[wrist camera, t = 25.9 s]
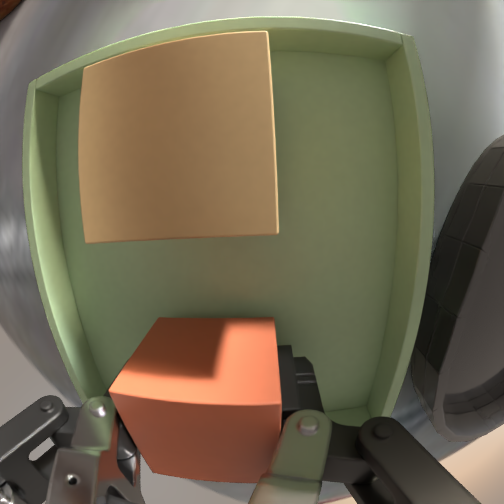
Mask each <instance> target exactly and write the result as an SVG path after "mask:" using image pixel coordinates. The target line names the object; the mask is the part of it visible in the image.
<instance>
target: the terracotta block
mask: <svg viewBox="0 0 504 504" xmlns="http://www.w3.org/2000/svg"><path fill="white" fill-rule="evenodd" d="M109 393H110V396H111V398H112V400H113V402H114V404H115V406H116V408H117V410H118V413H119V415H120V417H121V419H122V421H123V422H124V424H125V426H126V428H127V430H128V432H129V434H130V436H131V437H132V439H133V441H134V443H135V445H136V446H137V448H138V450H139V451H140V453H141V455H142V456H143V458H144V460H145V461H146V463H147V464H148V466H149V467H150V469H151V470H152V472H153V473H158V474H163V475H168V476H174V477H180V478H187V479H195V480H204V481H215V482H230V483H258V481H259V479H260V477H261V475H262V474H263V473H266V471H267V469H268V467H269V465H270V462H271V459H272V457H273V454H274V452H275V449H276V446H277V444H278V441H279V438H280V435H281V413H282V399H281V387H280V375H279V363H278V351H277V340H276V329H275V319H274V317H256V318H167V317H159V318H158V319H157V320H156V321H155V323H154V324H153V326H152V327H151V328H150V330H149V331H148V333H147V334H146V336H145V337H144V338H143V340H142V341H141V343H140V344H139V346H138V347H137V348H136V350H135V351H134V353H133V354H132V356H131V357H130V359H129V360H128V362H127V363H126V364H125V366H124V367H123V369H122V370H121V372H120V373H119V375H118V376H117V378H116V379H115V381H114V382H113V384H112V385H111V387H110V388H109Z"/></svg>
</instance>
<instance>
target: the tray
mask: <svg viewBox="0 0 504 504" xmlns="http://www.w3.org/2000/svg"><path fill="white" fill-rule="evenodd" d="M248 31H267V32H268V35H269V47H270V60H271V74H272V88H273V104H274V121H275V140H276V161H277V185H278V216H279V233H278V235H269V236H240V237H215V238H191V239H170V240H150V241H131V242H114V243H97V244H86V243H85V239H84V232H83V224H82V215H81V204H80V192H79V173H78V125H79V107H80V95H81V85H82V77H83V69H84V68H85V67H87V66H90V65H93V64H95V63H98V62H101V61H103V60H106V59H109V58H112V57H115V56H118V55H121V54H124V53H128V52H131V51H134V50H138V49H142V48H145V47H149V46H153V45H157V44H162V43H166V42H171V41H176V40H181V39H187V38H192V37H199V36H206V35H214V34H222V33H233V32H248ZM22 178H23V197H24V209H25V219H26V227H27V234H28V241H29V247H30V252H31V258H32V263H33V267H34V272H35V276H36V281H37V285H38V289H39V293H40V296H41V300H42V303H43V307H44V310H45V313H46V317H47V320H48V323H49V326H50V329H51V332H52V335H53V337H54V340H55V343H56V345H57V348H58V351H59V353H60V356H61V358H62V360H63V363H64V365H65V367H66V370H67V372H68V374H69V376H70V379H71V381H72V383H73V385H74V387H75V389H76V391H77V393H78V395H79V397H80V399H81V401H82V403H84V402H85V401H87V400H88V399H90V398H92V397H95V396H103V395H104V394H105V392H106V391H107V389H108V388H109V386H110V385H111V383H112V382H113V380H114V379H115V377H116V376H117V375H118V373H119V372H120V370H121V369H122V367H123V366H124V364H125V363H126V361H127V360H128V359H129V358H130V357H131V356H132V354H133V353H134V351H135V350H136V348H137V347H138V346H139V344H140V343H141V341H142V340H143V338H144V337H145V336H146V334H147V333H148V331H149V330H150V328H151V327H152V326H153V324H154V323H155V321H156V320H157V319H158V318H159V317H167V318H256V317H274V319H275V329H276V340H277V345H291V346H292V352H293V357H304V356H305V357H306V358H307V359H308V360H309V361H310V362H311V363H312V364H313V368H314V372H315V376H316V380H317V384H318V388H319V392H320V397H321V401H322V405H323V409H324V412H325V414H326V415H327V416H328V417H329V418H330V419H331V420H332V421H334V422H336V423H338V424H341V425H348V426H359V427H361V426H362V424H363V423H364V422H365V421H367V420H369V419H371V418H373V417H379V416H385V417H390V416H391V414H392V411H393V409H394V406H395V404H396V401H397V398H398V396H399V393H400V390H401V387H402V384H403V381H404V378H405V375H406V372H407V369H408V365H409V362H410V359H411V355H412V351H413V348H414V344H415V340H416V336H417V332H418V328H419V323H420V319H421V314H422V309H423V304H424V299H425V293H426V287H427V281H428V274H429V267H430V259H431V249H432V238H433V224H434V193H435V186H434V155H433V141H432V130H431V121H430V113H429V106H428V99H427V93H426V88H425V83H424V78H423V73H422V68H421V64H420V60H419V56H418V52H417V48H416V44H415V41H414V37H413V36H410V35H406V34H403V33H399V32H395V31H391V30H387V29H383V28H379V27H374V26H369V25H364V24H358V23H352V22H346V21H339V20H330V19H321V18H308V17H285V16H266V17H243V18H230V19H220V20H212V21H205V22H198V23H192V24H186V25H181V26H176V27H171V28H167V29H162V30H158V31H154V32H150V33H147V34H143V35H139V36H136V37H133V38H129V39H126V40H123V41H120V42H117V43H114V44H111V45H109V46H106V47H103V48H101V49H98V50H95V51H93V52H90V53H88V54H86V55H83V56H81V57H79V58H76V59H74V60H72V61H70V62H68V63H66V64H64V65H62V66H60V67H58V68H56V69H54V70H52V71H50V72H48V73H46V74H44V75H42V76H41V77H39V78H38V79H35V80H34V81H32V82H30V83H29V85H28V92H27V98H26V106H25V115H24V127H23V146H22Z"/></svg>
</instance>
